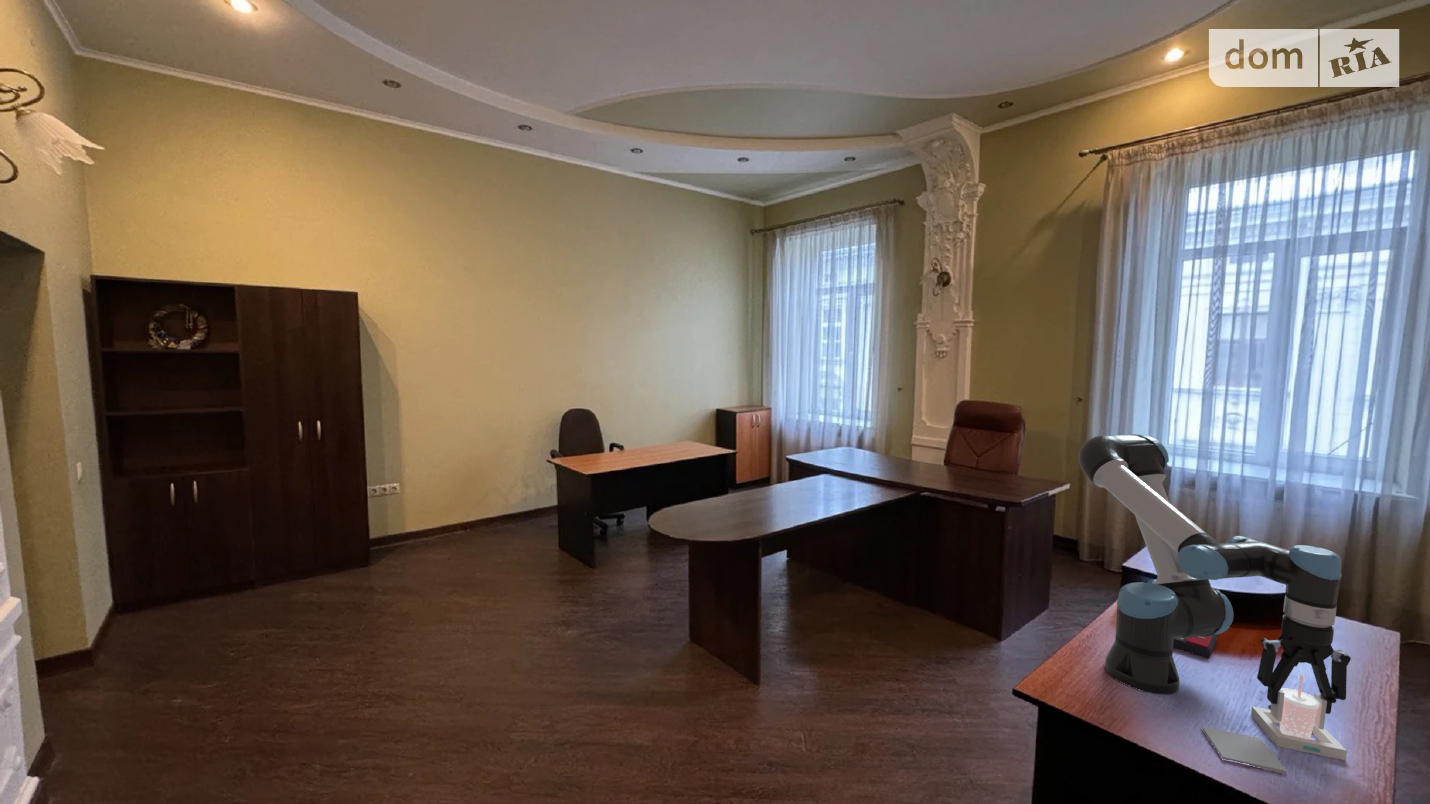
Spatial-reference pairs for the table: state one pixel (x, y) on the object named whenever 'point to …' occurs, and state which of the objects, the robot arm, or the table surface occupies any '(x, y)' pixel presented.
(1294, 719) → the beverage cup
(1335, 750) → the beige flat rectangular frame
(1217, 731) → the coaster pad
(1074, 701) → the table surface
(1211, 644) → the red and black box
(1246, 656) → the table surface
